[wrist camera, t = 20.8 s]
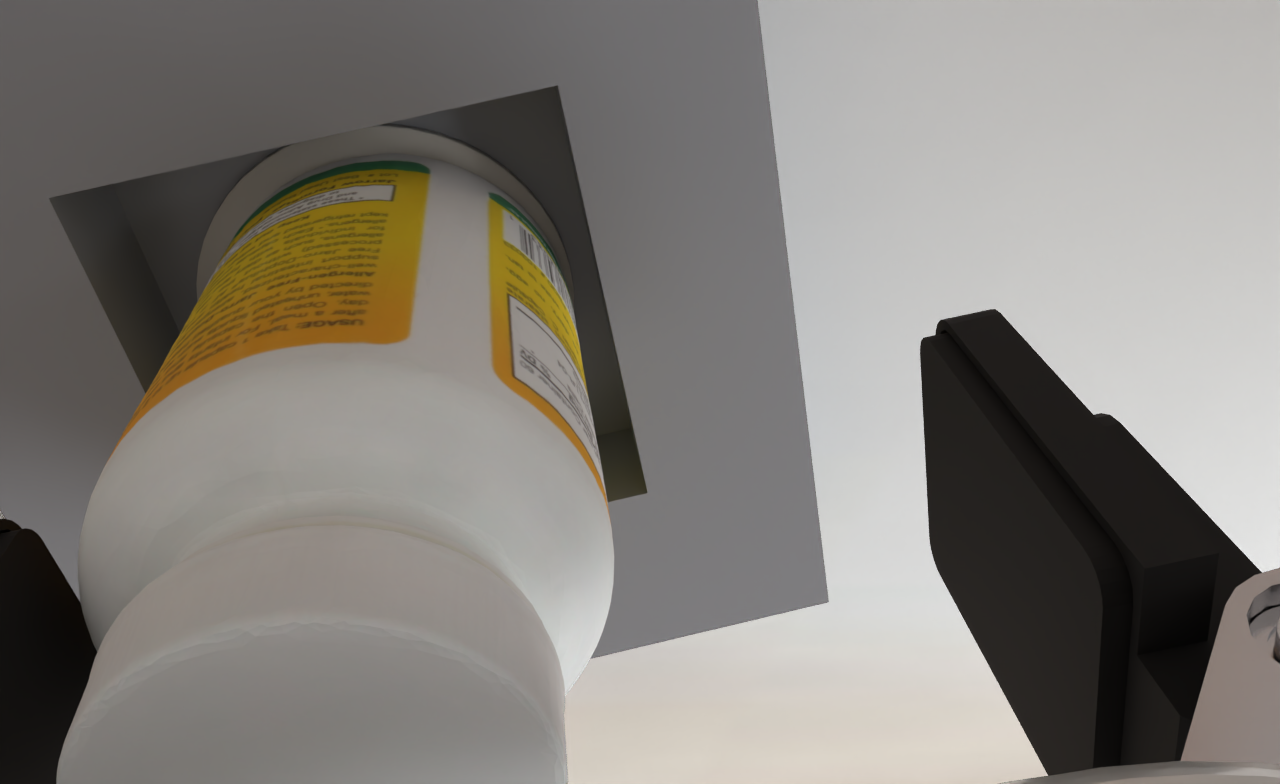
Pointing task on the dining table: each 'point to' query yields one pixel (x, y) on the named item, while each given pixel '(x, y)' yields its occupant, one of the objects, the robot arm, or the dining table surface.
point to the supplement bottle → (352, 505)
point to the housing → (471, 139)
